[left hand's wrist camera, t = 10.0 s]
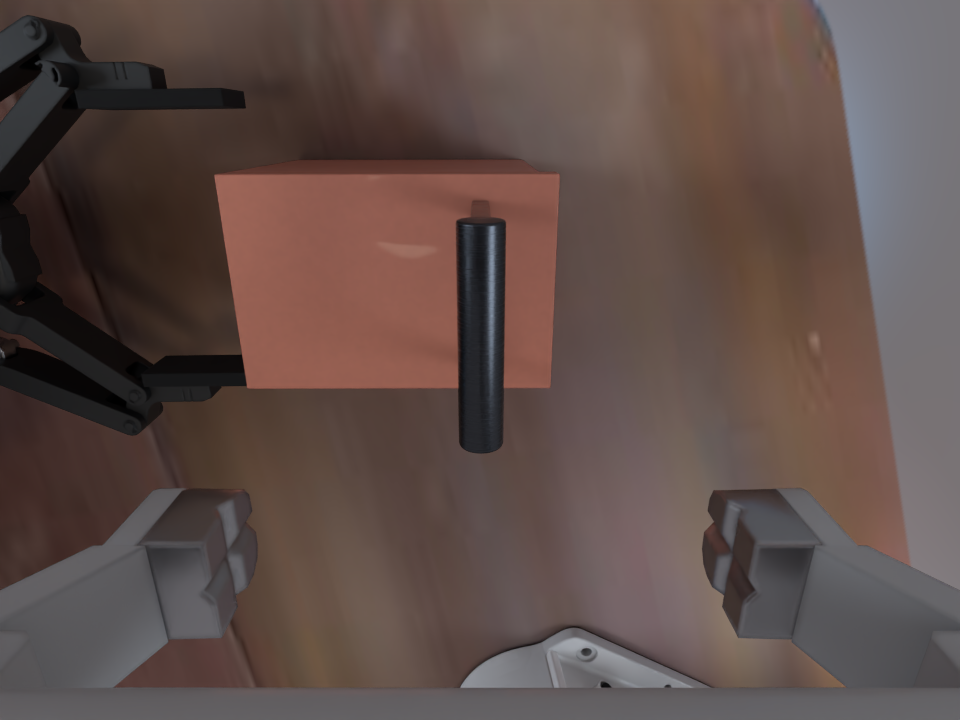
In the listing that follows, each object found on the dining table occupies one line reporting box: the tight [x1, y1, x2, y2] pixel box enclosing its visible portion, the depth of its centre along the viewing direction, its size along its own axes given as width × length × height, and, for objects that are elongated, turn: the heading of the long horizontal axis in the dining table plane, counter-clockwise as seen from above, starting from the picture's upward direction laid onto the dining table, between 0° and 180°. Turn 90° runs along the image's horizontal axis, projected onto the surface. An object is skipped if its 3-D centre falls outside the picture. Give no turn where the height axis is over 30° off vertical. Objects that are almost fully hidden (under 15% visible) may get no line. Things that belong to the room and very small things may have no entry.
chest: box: [232, 160, 538, 172], centre depth 32 cm, size 13×10×11 cm
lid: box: [215, 172, 560, 453], centre depth 23 cm, size 14×10×9 cm
